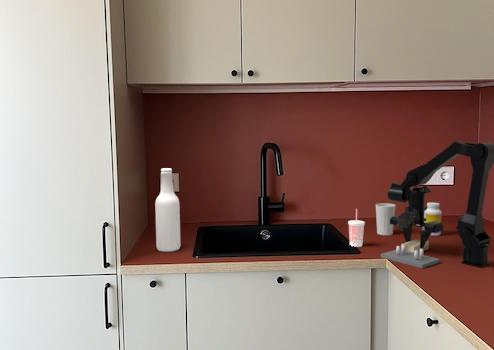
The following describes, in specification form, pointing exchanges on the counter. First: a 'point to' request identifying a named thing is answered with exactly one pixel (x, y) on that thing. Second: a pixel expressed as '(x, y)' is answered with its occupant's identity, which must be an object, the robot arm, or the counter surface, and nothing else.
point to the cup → (384, 218)
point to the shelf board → (414, 245)
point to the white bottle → (167, 215)
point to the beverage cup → (356, 232)
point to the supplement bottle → (433, 215)
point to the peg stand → (410, 257)
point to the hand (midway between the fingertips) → (414, 246)
